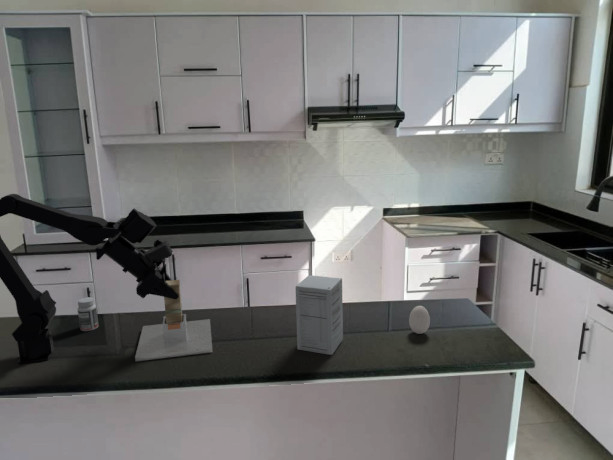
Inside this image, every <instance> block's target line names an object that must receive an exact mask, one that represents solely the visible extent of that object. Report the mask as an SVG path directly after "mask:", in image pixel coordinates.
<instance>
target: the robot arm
mask: <svg viewBox="0 0 613 460" xmlns="http://www.w3.org/2000/svg"><path fill="white" fill-rule="evenodd" d="M8 214H10V215H11V214H12V215H14V216H18V217H21V218H25V219H27V220H30V221H34V222H36V223H40V224H43V225H46V226H49V227H51V228H54V229H58V230H60V231H63V232H66V233H68V235H70V236H71V237H73V238H74V239H76V240H78V241H80V242H82V243H84V244H86V245H89V246H96V247H95V249H94V251H95V254H96V256H95V258H96V260H97V261H99V260H100V259H102V257H103V256H104V255H106V256H107V257H108V258H109V259H111V260H112V261H113V262H115V263H116V264H117V265H119V266H120V267H121V268H122V272H124V274H126V273H130V274H131V275H132V276H133V277H134V278H136V280H135V281H136V282H137V285H136V289H135V291H136V294H137V296H139V297H140V298H142V299H144V298H146V297H147V295H153V296H159V297H163V298H164V297H167V298H172V299H177V298H178V297H179V295H178V294H177V293H176V292H175V291H174V290H173V289H172V288H171V287H170V286H169V285H168V283H167V282H166V281H170V280H172V279H171V277H170V276H169V274H168V273H167V264H166V263H165V262H166V259H168V258H170V257H172V256H173V252H174V251H173V249H172V248H171V246H170V243H169V242H168V241H167V240H162V239H160V238H158V239H156V240H154V242H153V247H151V248H149V249H148V250H145V249H144V248H141V247H140V248H138V247H136V246H135V245H134V244H137V243H138V244H141V243H142V242H144V240H145V239H146V238H147V237H148V235H150V233H152V232H153V231H154V229H155V228H156V227H157V223H155V221H154V220H153V219H152V218H151V217H150V216H148V215H147V214H145V213H143V212H141V211H139V210H138V209H136V208H133V209H131V211H130V212H129V213H128V215H127V216H126V217H125V218H124V219H123V220H122V221H121V222H119V221H117V222H116V221H107V220H106V219H105V218H103V217H99V216H95V215H87V214H77V213H72V212H71V213H70V212H67V211H65V210H61V209H59V208H55V207H52V206H49V205H47V204H44V203H41V202H38V201H36V200H32V199H29V198H26V197H23V196H21V195H20V194H17V193H10V194H7V195H4V196H2V197H1V198H0V218H1V217H3V216H7V215H8ZM118 232H120V233H119V234H118V235H117V236H116V237H115V235H116V234H117V233H118ZM113 237H115V238H113ZM105 240H106V241H105ZM104 241H105V242H104ZM103 242H104V243H103ZM102 243H103V244H102ZM101 244H102V245H101ZM97 245H98V246H97ZM99 245H101V246H99ZM164 263H165V264H164ZM161 264H164V265H163V266H161ZM0 280H1V281H2V283H3V284H4V286H5V287H6V289H7V290H8V292H9V293H10V295H11V296H12V297H13V299H14V301H15V307H16V311H17V312H16V313H17V316H18V318H19V320H20V324H19V325H18V326H17V327H16V329H15V330H14V331H13V332H12V333H11V335H12V337H13V338H14V340H15V342H17V348H18V349H17V350H18V355H19V359H18V360H17V364H19V365H21V364H27V363H28V364H29V363H35V362H42V361H47V360H49V359H50V357H51V355H52V353H53V352H54V349H55V348H54V347H55V346H54V339H53V334H50V330H49V328H47V326H49V324H50V323H51V321H52V320H53V318H54V317H55V316H56V313H57V307H56V305H57V302H56V301H55V300H54V299H53V298H52V296H51V294H50V292H49V291H48V290H44V291H43V292H42V291H40V290H38V289H36V288H35V287H34V285H33V283H32V282H31V281H30V279H29V278H28V276H27V275H26V273H25V272H24V270H23V269H22V267H21V266H20V264H19V262H17V260H16V257H15V256H14V255H13V254H12V251H10V249H9V248H8V246H7V244H6V243H5V242H4V240H3V238H2V237H1V235H0Z"/></svg>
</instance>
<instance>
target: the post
mask: <svg viewBox="0 0 613 460" xmlns="http://www.w3.org/2000/svg"><path fill="white" fill-rule="evenodd" d="M166 282H167V283H168V285H169V286H170V287H171V288H172V289H173V290H174V291H175V292H176V293H177V294H178V295H179V297H178V298H177V299H172V298H167V297H163V300H164V315H165V316H166V323H176V322H182V314H183V305H182V297H181V284H180V282H181V281H180V279H173V280H172V279H171V280H170V281H166Z"/></svg>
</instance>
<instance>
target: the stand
mask: <svg viewBox="0 0 613 460" xmlns="http://www.w3.org/2000/svg"><path fill="white" fill-rule="evenodd" d="M162 319H163V320H162V323H160V324H152V325H150V324H149V325H142V329H141V333H140V336H139V341H138V345H137V349H136V352H135V355H134V359H135V362H143V361H149V360H151V361H152V360H158V359H159V360H160V359H167V358H175V357H184V356H192V355H201V354H202V355H203V354H209V353H213V352H214V351H213V342H212V341H213V339H212V338H213V337H212V330H211V318H208V319H199V320H190V321H187V314H186V313H182V322H176V323H166V315H163V318H162Z"/></svg>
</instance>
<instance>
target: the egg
mask: <svg viewBox="0 0 613 460" xmlns="http://www.w3.org/2000/svg"><path fill="white" fill-rule="evenodd" d="M408 320H409V321H408V324H409V327H410V329H411V330H412V331H413V332H414V334H415V333H416V334H418V335H421V334H425V332H427V331H428V329H429V327H430V324H431V317H430V313H429V312H428V310H427V308H425V307H424V306H422V305H417V306H414V307H413V309H412V310H411V312H410V314H409V317H408Z"/></svg>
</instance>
